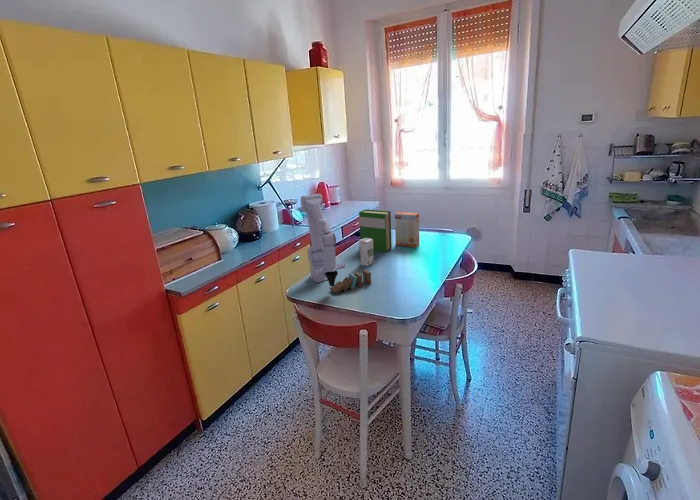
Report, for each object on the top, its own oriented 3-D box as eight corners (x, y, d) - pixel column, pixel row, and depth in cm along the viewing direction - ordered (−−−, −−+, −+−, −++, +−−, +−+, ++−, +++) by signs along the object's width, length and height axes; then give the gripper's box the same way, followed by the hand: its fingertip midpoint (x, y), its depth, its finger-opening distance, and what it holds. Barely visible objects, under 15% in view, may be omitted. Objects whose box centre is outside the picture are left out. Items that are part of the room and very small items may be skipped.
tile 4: (368, 284, 180) (367, 273, 178) (363, 281, 184) (362, 270, 182) (371, 283, 181) (370, 272, 179) (366, 280, 185) (365, 269, 183)
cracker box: (419, 245, 230) (419, 212, 223) (416, 248, 225) (415, 215, 218) (399, 242, 237) (398, 211, 230) (395, 245, 233) (394, 213, 226)
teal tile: (348, 285, 181) (352, 274, 180) (353, 289, 176) (357, 277, 176) (346, 285, 180) (349, 273, 179) (351, 288, 176) (354, 276, 175)
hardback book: (391, 248, 227) (390, 211, 219) (386, 252, 221) (384, 214, 213) (367, 245, 236) (365, 209, 228) (361, 249, 231) (358, 212, 223)
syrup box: (365, 261, 210) (364, 237, 205) (374, 263, 206) (373, 238, 201) (359, 264, 206) (358, 240, 201) (368, 266, 202) (366, 241, 197)
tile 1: (334, 292, 171) (344, 284, 173) (329, 288, 176) (339, 280, 177) (336, 294, 172) (345, 286, 174) (331, 290, 176) (340, 283, 178)
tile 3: (359, 287, 178) (359, 275, 176) (354, 283, 182) (354, 272, 180) (362, 286, 179) (362, 275, 177) (357, 282, 183) (356, 271, 181)
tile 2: (343, 289, 174) (351, 280, 174) (338, 286, 178) (346, 276, 178) (345, 291, 174) (353, 281, 175) (340, 288, 179) (348, 278, 179)
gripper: (318, 264, 162) (321, 292, 166) (347, 257, 168) (349, 284, 173) (312, 260, 167) (315, 287, 172) (340, 253, 174) (342, 279, 178)
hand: (331, 285), depth 173 cm, fingers closed
